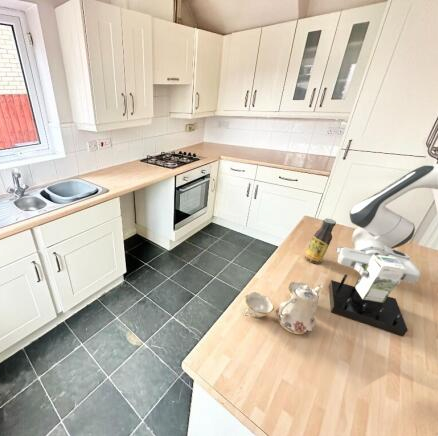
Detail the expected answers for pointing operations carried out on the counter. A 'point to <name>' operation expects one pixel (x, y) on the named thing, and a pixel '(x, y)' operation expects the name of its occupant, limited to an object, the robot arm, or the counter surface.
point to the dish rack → (366, 308)
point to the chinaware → (288, 308)
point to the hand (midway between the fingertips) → (380, 278)
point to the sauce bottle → (320, 242)
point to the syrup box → (379, 278)
